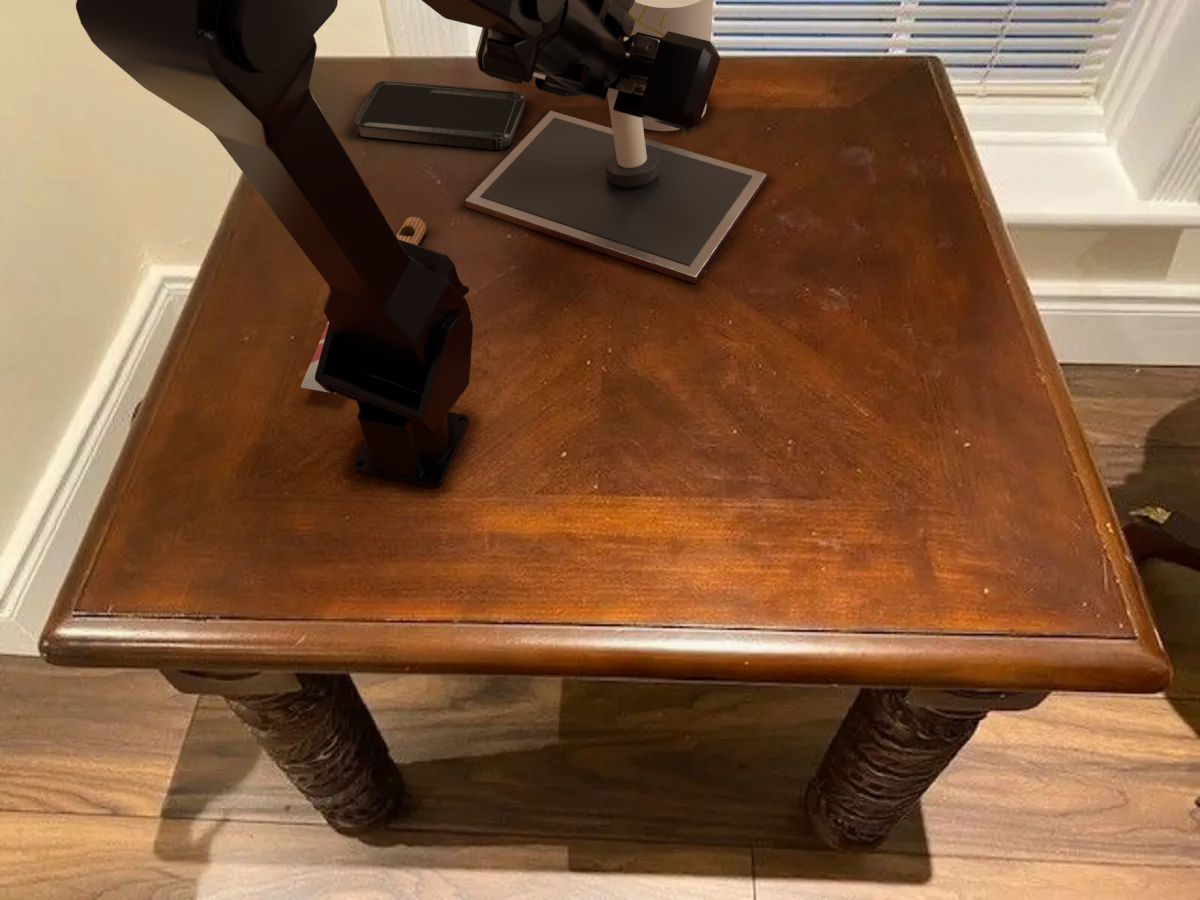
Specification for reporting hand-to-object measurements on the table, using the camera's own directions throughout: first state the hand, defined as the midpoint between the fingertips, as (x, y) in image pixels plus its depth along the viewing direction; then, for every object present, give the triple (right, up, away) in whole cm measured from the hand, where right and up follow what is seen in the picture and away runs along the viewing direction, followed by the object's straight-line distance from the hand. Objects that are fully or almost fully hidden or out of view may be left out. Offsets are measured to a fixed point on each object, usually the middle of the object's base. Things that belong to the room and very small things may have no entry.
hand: (629, 88), depth 86 cm
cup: (+4, +3, +13) cm, 13 cm away
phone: (-18, +1, +12) cm, 21 cm away
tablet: (-1, -8, +4) cm, 9 cm away
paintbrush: (-20, -19, -4) cm, 29 cm away
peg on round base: (0, -6, +4) cm, 7 cm away
